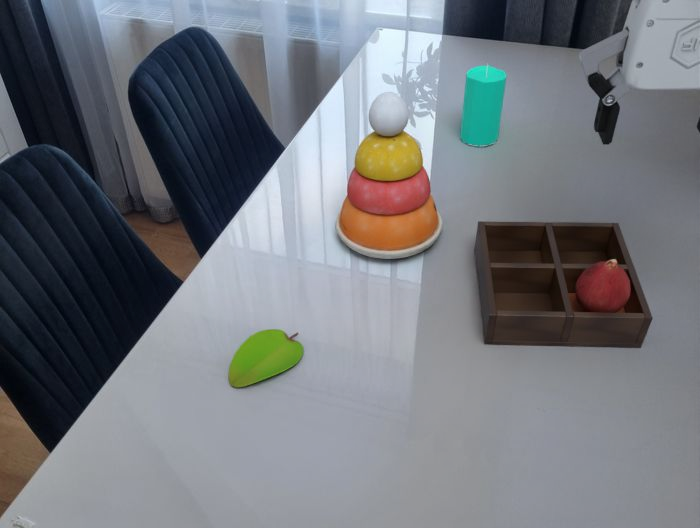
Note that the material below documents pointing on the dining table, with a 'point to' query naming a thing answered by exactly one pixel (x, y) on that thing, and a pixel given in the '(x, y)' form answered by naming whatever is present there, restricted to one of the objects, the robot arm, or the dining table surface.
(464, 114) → the candle
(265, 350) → the decorative leaf
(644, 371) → the dining table surface
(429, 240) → the stacking toy
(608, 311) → the onion
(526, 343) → the grid
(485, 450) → the dining table surface
